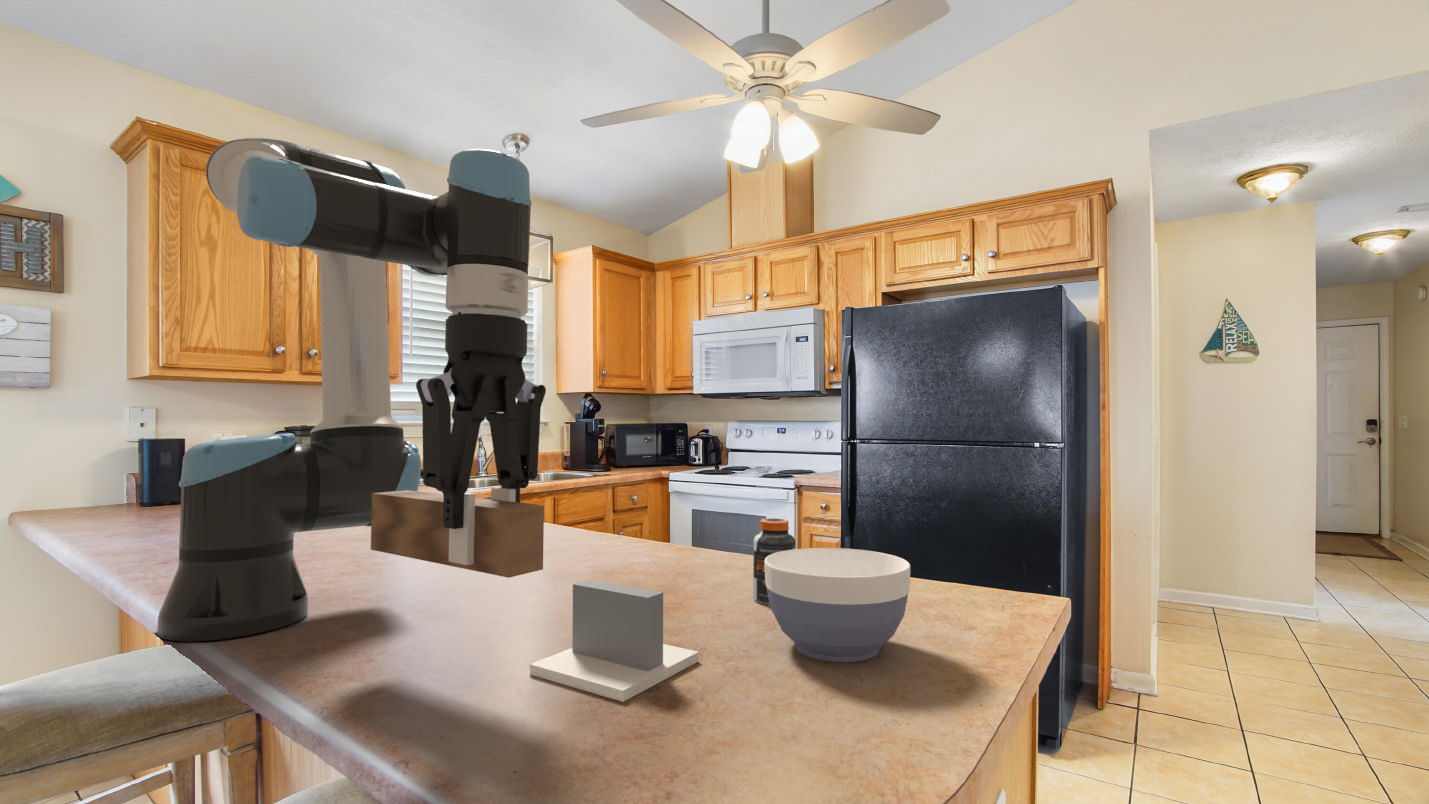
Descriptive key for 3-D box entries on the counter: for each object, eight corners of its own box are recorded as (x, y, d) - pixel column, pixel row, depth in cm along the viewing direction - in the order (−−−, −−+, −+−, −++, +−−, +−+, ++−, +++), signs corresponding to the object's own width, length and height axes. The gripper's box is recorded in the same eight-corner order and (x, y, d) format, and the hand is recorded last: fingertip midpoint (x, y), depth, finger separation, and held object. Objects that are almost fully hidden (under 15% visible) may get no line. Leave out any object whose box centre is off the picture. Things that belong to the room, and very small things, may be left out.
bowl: (921, 636, 77) (920, 554, 77) (898, 685, 63) (896, 583, 63) (790, 619, 84) (790, 543, 84) (742, 660, 69) (742, 568, 70)
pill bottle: (750, 604, 91) (750, 521, 91) (755, 593, 97) (755, 516, 97) (794, 606, 90) (794, 522, 90) (796, 595, 96) (796, 516, 96)
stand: (529, 674, 65) (530, 592, 66) (611, 641, 75) (611, 570, 76) (622, 701, 59) (623, 611, 59) (698, 661, 69) (698, 584, 69)
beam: (370, 549, 71) (371, 493, 71) (405, 543, 74) (406, 490, 74) (508, 577, 59) (509, 509, 59) (543, 569, 62) (543, 505, 62)
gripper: (431, 299, 55) (425, 582, 55) (578, 325, 69) (574, 548, 69) (380, 306, 59) (374, 569, 59) (529, 329, 73) (524, 540, 73)
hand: (482, 557), depth 64 cm, fingers closed on beam, 4 cm apart
